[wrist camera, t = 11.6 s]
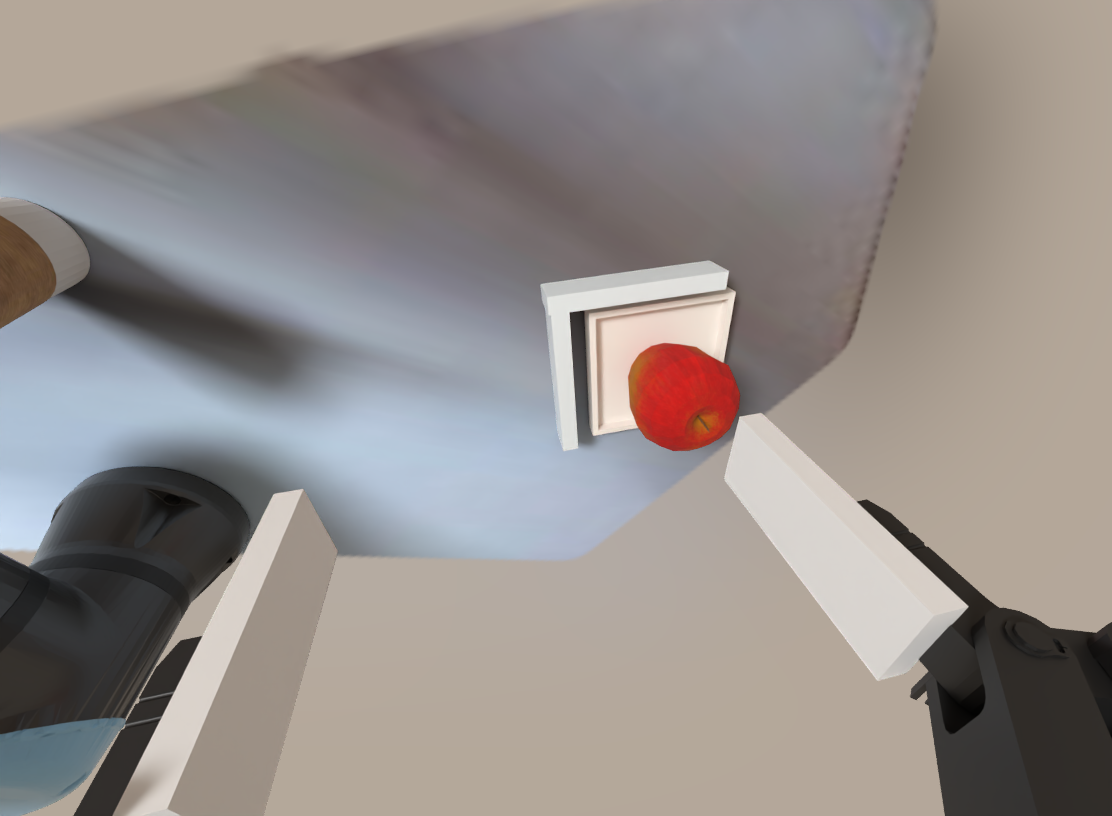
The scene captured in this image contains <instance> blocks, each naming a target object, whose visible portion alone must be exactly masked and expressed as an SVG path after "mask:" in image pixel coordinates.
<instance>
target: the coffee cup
mask: <svg viewBox="0 0 1112 816" xmlns="http://www.w3.org/2000/svg"><path fill="white" fill-rule="evenodd" d="M89 268H90V257H89V253H88V250H87V248H86V246H85V244H84V242H83V241H82V239H81V238H80V237H79V235H78V234H77V233H76V232H75V231H74V230H73V229H72V228H71V227H70V225H68V224H67V223H66V222H65V221H63V220H62V219H61V218H60V217H58V216H57V215H55V214H54V213H52V212H50V211H49V210H47V209H45V208H43V207H41V206H39V205H37V204H34V203H31V202H28V201H25V200H21V199H16V198H7V197H0V328H2V327H4V326H5V325H7V324H9V323H10V322H12V321H14V320H15V319H17V318H19V317H20V316H22V315H24V314H26V313H27V312H29V311H31V310H32V309H34V308H36V307H37V306H39V305H41V304H42V303H44V302H45V301H47V300H48V299H50V298H51V297H53V296H55V295H57V294H59V293H61V292H62V291H64V290H66V289H68V288H70V287H72V286H73V285H75V284H77V283H78V282H80V281H81V280H82V279H84V278H85V277H86V275H87V274H88V272H89Z"/></svg>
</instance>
